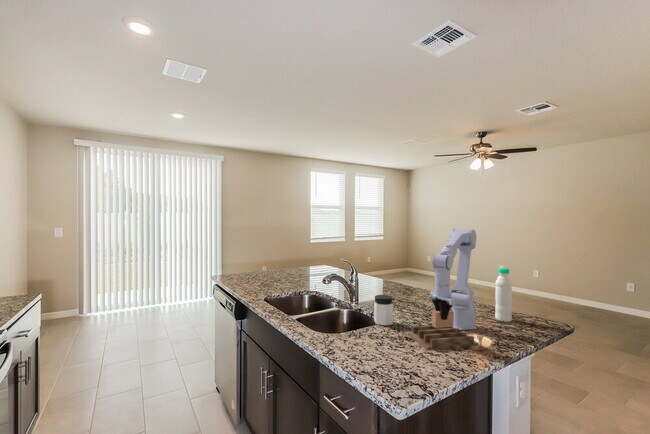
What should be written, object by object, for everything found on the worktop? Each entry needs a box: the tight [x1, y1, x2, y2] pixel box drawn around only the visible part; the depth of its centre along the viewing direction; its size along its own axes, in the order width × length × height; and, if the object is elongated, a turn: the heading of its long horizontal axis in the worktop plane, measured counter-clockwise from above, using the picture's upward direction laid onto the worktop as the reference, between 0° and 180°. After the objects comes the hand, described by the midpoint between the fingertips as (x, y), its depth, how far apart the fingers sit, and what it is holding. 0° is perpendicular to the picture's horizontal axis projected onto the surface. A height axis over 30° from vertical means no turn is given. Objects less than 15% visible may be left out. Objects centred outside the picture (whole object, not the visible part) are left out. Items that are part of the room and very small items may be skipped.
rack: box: [407, 324, 480, 350], centre depth 126 cm, size 22×15×3 cm
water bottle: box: [494, 267, 513, 323], centre depth 152 cm, size 7×7×25 cm
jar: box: [373, 294, 394, 326], centre depth 146 cm, size 9×8×12 cm
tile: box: [431, 309, 454, 328], centre depth 126 cm, size 8×2×6 cm, turn 102°
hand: (442, 318), depth 126 cm, fingers closed on tile, 2 cm apart
